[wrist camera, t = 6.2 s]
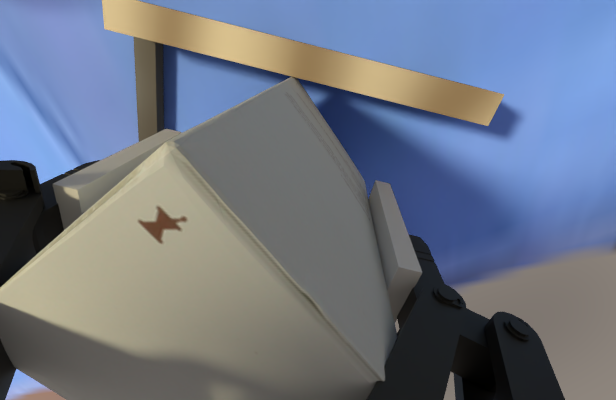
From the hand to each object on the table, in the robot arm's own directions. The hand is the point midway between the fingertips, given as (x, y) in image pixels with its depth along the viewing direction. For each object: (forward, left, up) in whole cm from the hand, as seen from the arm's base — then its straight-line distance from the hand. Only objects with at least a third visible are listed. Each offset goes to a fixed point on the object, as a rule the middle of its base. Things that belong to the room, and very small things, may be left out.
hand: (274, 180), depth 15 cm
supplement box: (0, 0, -3) cm, 3 cm away
